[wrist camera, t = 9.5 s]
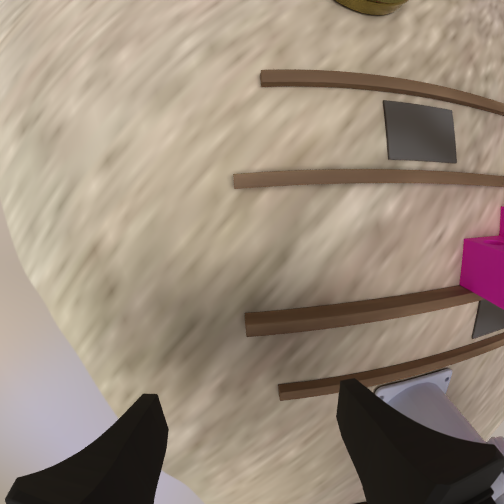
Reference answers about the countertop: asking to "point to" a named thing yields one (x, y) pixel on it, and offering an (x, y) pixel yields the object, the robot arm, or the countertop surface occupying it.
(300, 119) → the countertop surface
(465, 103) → the wooden slat rack
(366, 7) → the gold tapered round piece
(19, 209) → the countertop surface
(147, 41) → the countertop surface
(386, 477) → the robot arm
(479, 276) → the magenta curved bracket
